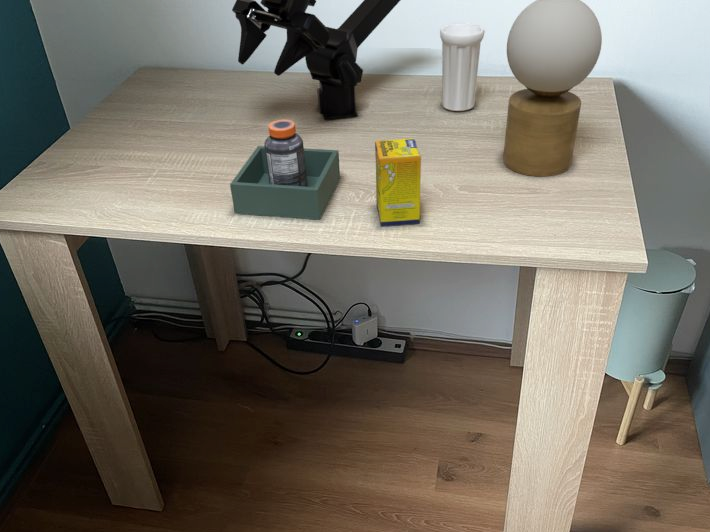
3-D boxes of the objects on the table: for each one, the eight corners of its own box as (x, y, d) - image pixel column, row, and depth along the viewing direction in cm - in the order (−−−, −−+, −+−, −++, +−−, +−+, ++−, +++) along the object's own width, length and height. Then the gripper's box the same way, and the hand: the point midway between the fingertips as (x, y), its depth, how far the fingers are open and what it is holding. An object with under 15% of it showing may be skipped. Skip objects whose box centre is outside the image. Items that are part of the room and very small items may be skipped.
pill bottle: (286, 180, 119) (279, 113, 112) (315, 189, 116) (309, 120, 109) (262, 195, 115) (253, 126, 108) (292, 204, 112) (284, 135, 105)
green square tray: (261, 173, 122) (257, 145, 119) (340, 178, 120) (338, 150, 116) (234, 213, 112) (229, 184, 109) (319, 220, 110) (317, 189, 106)
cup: (430, 110, 140) (432, 32, 131) (448, 96, 146) (451, 20, 136) (468, 117, 137) (473, 38, 128) (486, 102, 142) (492, 25, 133)
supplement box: (375, 207, 112) (374, 140, 105) (414, 204, 112) (415, 137, 105) (379, 227, 107) (378, 158, 100) (420, 224, 107) (421, 154, 100)
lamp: (505, 134, 131) (520, -18, 115) (586, 142, 127) (613, -14, 111) (487, 171, 120) (501, 8, 104) (576, 181, 116) (604, 14, 100)
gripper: (232, -56, 119) (190, 31, 121) (311, -42, 109) (265, 53, 110) (273, -14, 129) (234, 66, 130) (349, 2, 119) (306, 90, 120)
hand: (258, 68), depth 122 cm, fingers open, 9 cm apart
